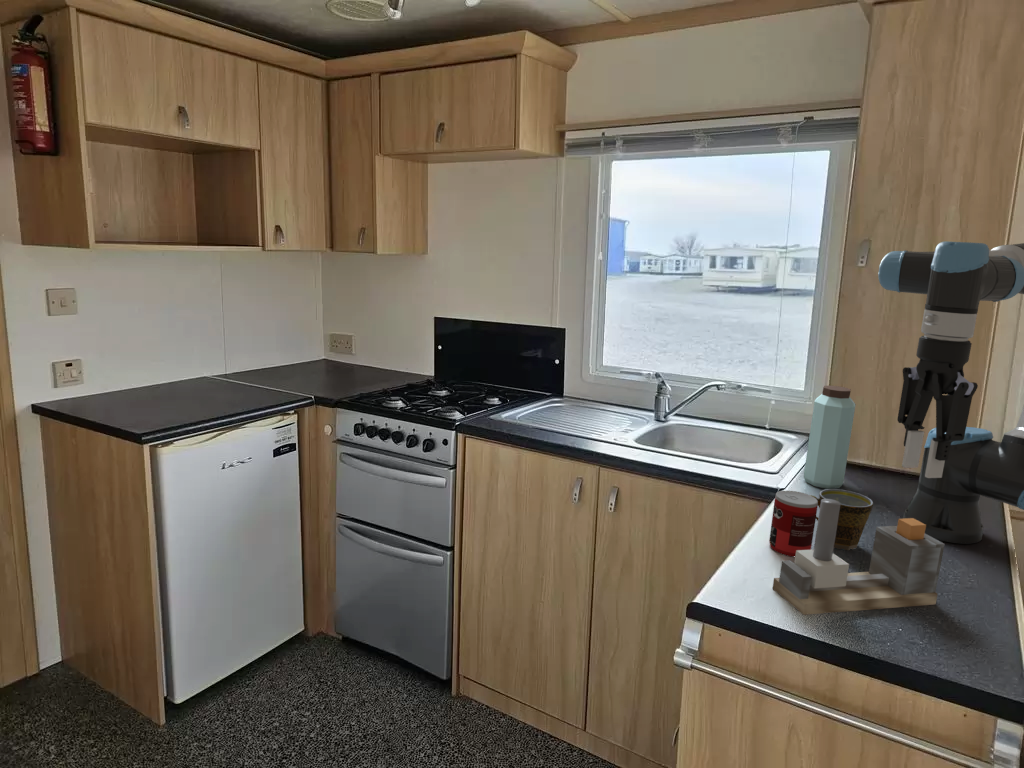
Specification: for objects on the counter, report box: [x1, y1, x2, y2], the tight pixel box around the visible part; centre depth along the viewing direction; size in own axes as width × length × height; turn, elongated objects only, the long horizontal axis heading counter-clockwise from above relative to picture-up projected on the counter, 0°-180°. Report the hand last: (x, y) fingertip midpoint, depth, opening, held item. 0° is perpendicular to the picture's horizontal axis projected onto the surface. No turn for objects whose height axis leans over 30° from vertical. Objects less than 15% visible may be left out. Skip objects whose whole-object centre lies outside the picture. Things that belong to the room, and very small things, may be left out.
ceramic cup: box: [809, 488, 874, 551], centre depth 148 cm, size 13×10×10 cm
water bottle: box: [803, 385, 856, 490], centre depth 182 cm, size 10×10×25 cm
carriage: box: [793, 499, 850, 588], centre depth 122 cm, size 6×6×14 cm
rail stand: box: [772, 525, 946, 616], centre depth 125 cm, size 26×9×11 cm, turn 103°
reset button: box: [896, 518, 926, 540], centre depth 126 cm, size 3×3×3 cm
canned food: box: [768, 490, 819, 557], centre depth 143 cm, size 8×8×11 cm
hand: (921, 471), depth 124 cm, fingers open, 4 cm apart
